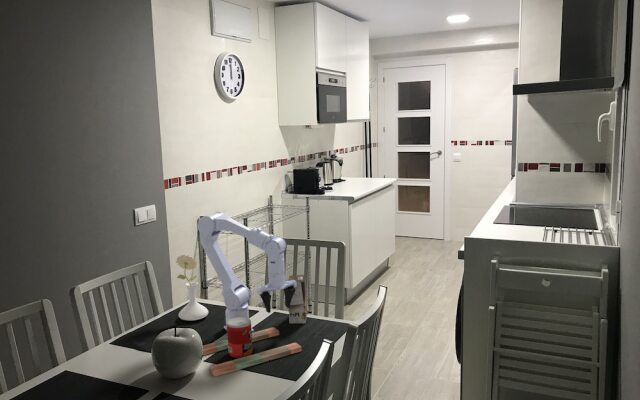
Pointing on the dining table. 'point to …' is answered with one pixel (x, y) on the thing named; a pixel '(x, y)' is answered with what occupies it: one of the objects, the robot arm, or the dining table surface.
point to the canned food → (239, 337)
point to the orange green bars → (251, 359)
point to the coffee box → (298, 301)
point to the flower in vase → (190, 292)
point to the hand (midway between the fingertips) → (278, 309)
